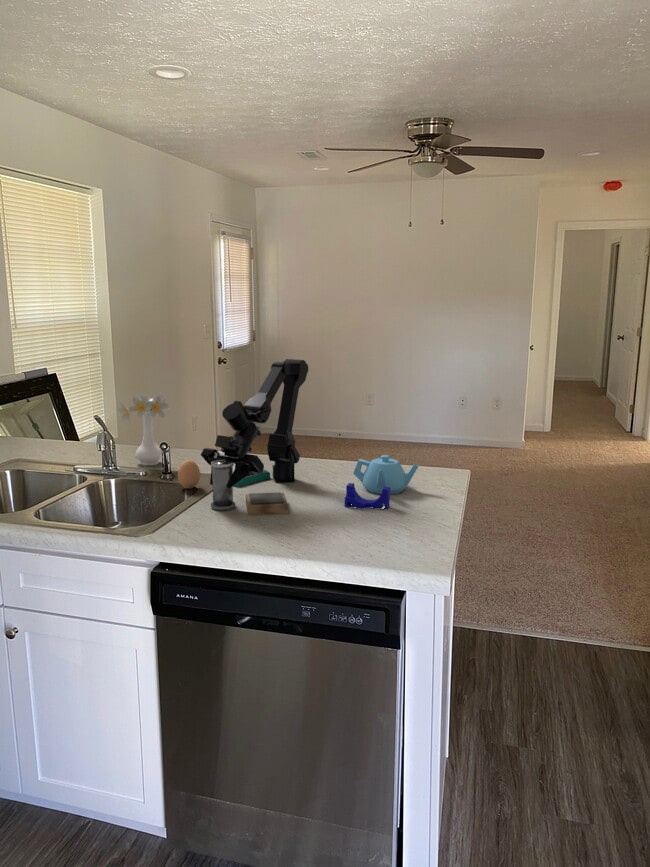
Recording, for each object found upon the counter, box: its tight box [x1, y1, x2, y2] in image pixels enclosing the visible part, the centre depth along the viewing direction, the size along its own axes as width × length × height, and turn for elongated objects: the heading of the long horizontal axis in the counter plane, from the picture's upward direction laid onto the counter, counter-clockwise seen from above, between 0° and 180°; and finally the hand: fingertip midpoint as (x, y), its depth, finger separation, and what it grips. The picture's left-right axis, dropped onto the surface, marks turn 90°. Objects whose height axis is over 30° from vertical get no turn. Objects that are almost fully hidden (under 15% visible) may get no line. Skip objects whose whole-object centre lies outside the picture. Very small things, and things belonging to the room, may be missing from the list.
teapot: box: [352, 454, 419, 495], centre depth 207 cm, size 15×15×11 cm
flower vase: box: [116, 391, 172, 467], centre depth 231 cm, size 13×18×25 cm
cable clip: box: [344, 482, 391, 510], centre depth 190 cm, size 12×4×6 cm, turn 73°
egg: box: [177, 459, 201, 490], centre depth 205 cm, size 7×7×9 cm
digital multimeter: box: [233, 469, 271, 488], centre depth 215 cm, size 7×15×3 cm, turn 138°
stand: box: [245, 492, 289, 516], centre depth 188 cm, size 11×11×3 cm
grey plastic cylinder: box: [210, 460, 236, 512], centre depth 187 cm, size 7×7×13 cm
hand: (219, 485), depth 186 cm, fingers closed on grey plastic cylinder, 6 cm apart
